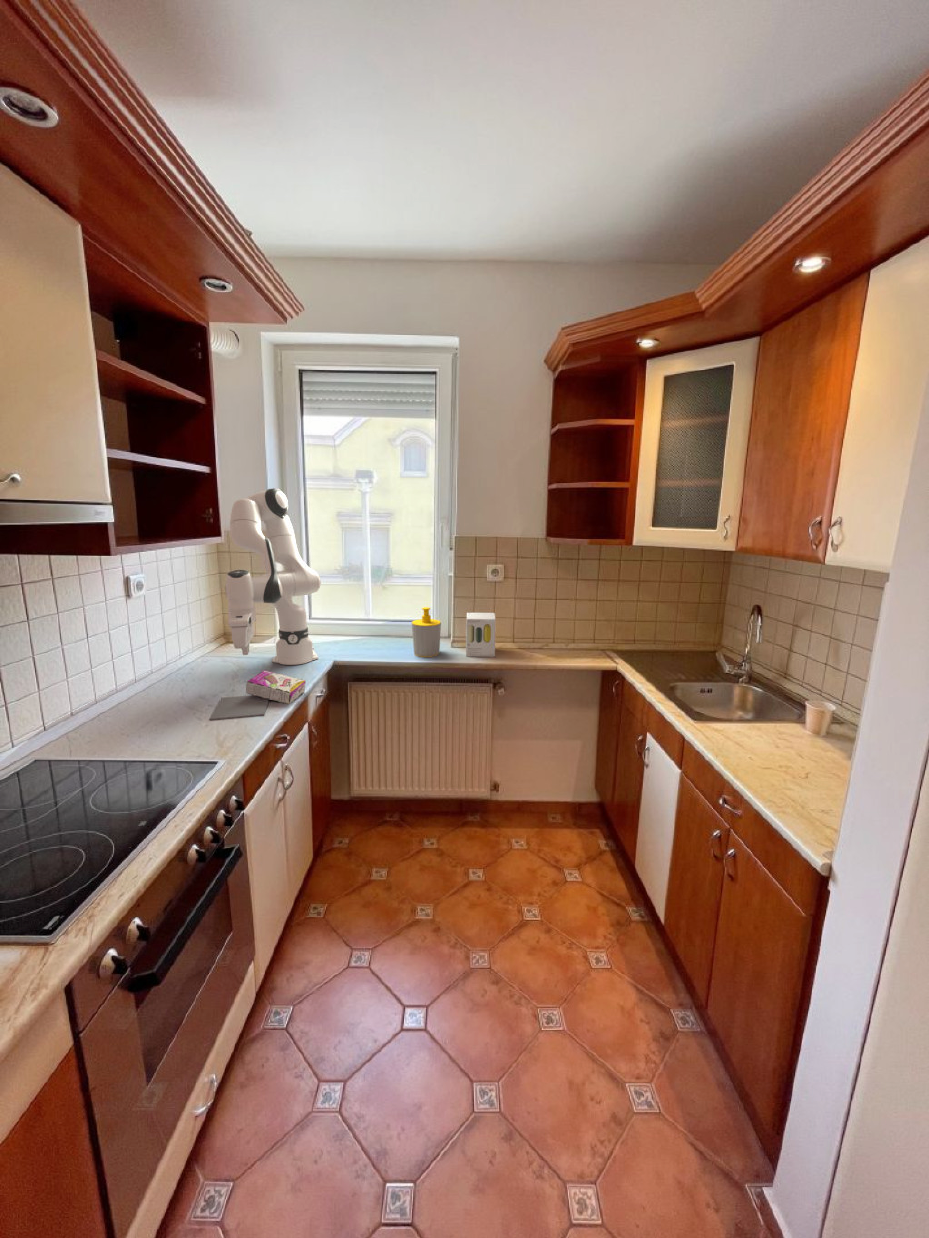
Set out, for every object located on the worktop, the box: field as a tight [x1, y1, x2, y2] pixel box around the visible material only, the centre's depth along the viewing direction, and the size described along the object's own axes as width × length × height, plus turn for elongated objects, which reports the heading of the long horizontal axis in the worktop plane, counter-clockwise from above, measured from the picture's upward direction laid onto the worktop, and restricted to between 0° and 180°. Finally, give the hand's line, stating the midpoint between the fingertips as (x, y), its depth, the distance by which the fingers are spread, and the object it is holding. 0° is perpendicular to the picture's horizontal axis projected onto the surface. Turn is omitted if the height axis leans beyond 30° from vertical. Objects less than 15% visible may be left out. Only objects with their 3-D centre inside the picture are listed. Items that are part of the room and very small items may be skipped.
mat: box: [209, 694, 270, 721], centre depth 167 cm, size 18×16×1 cm
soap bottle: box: [411, 606, 442, 658], centre depth 226 cm, size 13×13×21 cm
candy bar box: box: [245, 669, 307, 705], centre depth 176 cm, size 11×5×16 cm
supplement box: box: [465, 612, 496, 658], centre depth 228 cm, size 13×13×18 cm
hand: (246, 653), depth 181 cm, fingers closed
